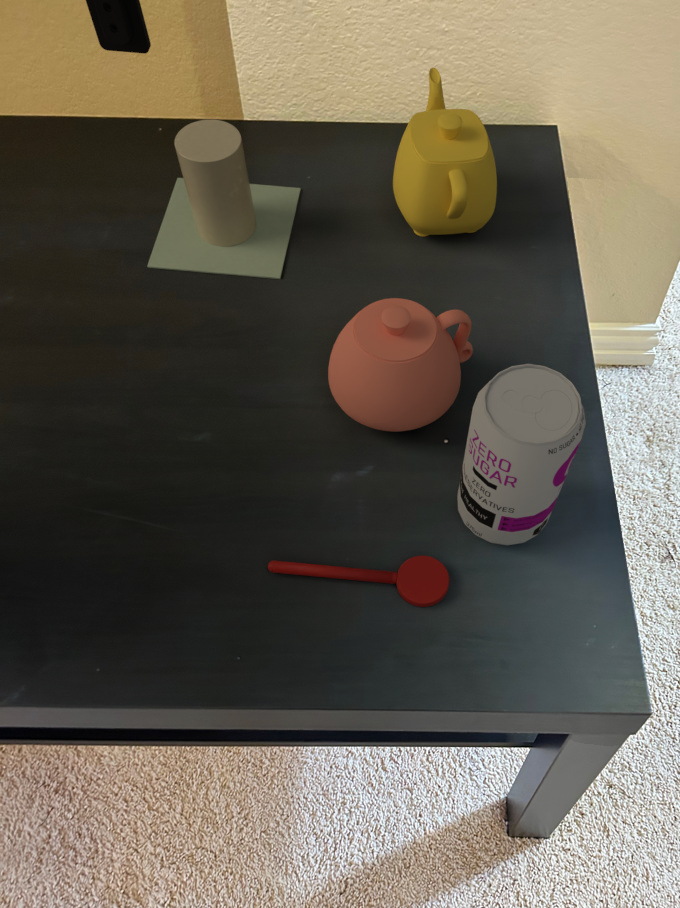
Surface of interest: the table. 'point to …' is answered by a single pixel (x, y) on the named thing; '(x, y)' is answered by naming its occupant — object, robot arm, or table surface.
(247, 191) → the beige cylinder
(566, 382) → the supplement can
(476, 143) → the teapot
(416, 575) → the spoon
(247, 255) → the mat
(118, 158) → the table surface
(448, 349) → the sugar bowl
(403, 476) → the table surface
